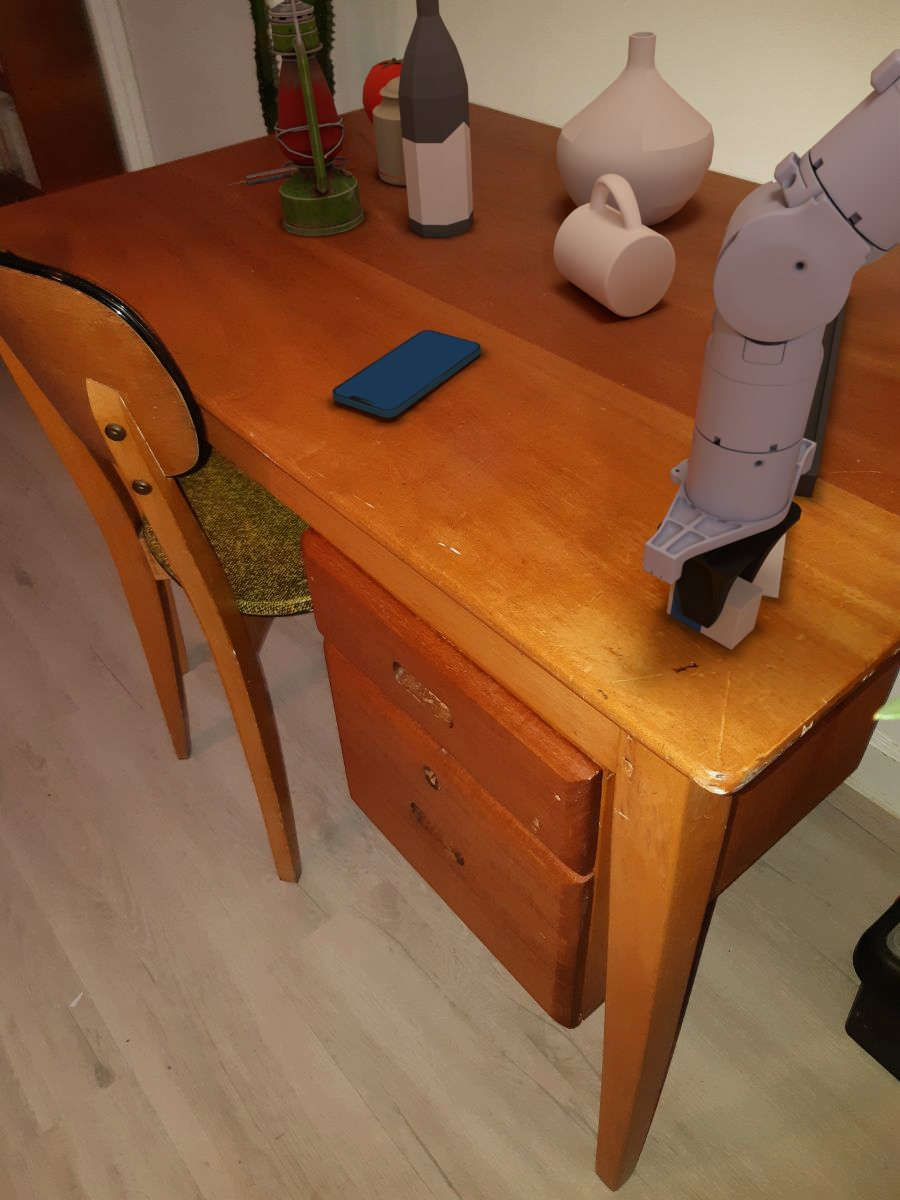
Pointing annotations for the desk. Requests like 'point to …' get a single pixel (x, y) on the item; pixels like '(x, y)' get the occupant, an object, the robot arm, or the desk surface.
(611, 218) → the mug
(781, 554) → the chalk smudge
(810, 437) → the tray
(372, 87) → the tomato
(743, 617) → the eraser
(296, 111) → the lantern
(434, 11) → the wine bottle
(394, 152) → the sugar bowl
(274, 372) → the desk surface
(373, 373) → the smartphone
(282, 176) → the syringe
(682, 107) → the vase
